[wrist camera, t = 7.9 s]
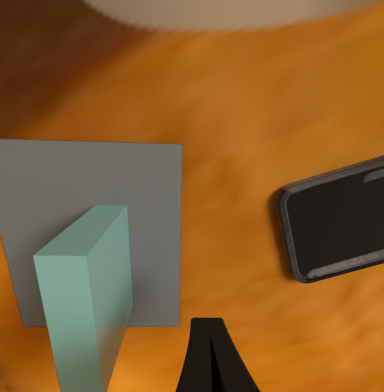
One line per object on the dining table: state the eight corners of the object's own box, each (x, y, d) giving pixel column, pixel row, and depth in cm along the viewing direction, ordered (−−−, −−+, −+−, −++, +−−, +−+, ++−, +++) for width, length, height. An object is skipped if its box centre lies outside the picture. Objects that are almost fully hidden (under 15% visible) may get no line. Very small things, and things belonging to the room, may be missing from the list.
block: (132, 305, 16) (104, 399, 11) (106, 305, 16) (62, 400, 10) (126, 205, 14) (85, 256, 8) (95, 204, 14) (32, 255, 8)
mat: (179, 320, 18) (179, 326, 17) (28, 320, 17) (23, 326, 17) (182, 144, 14) (182, 144, 13) (-14, 138, 13) (-23, 138, 13)
